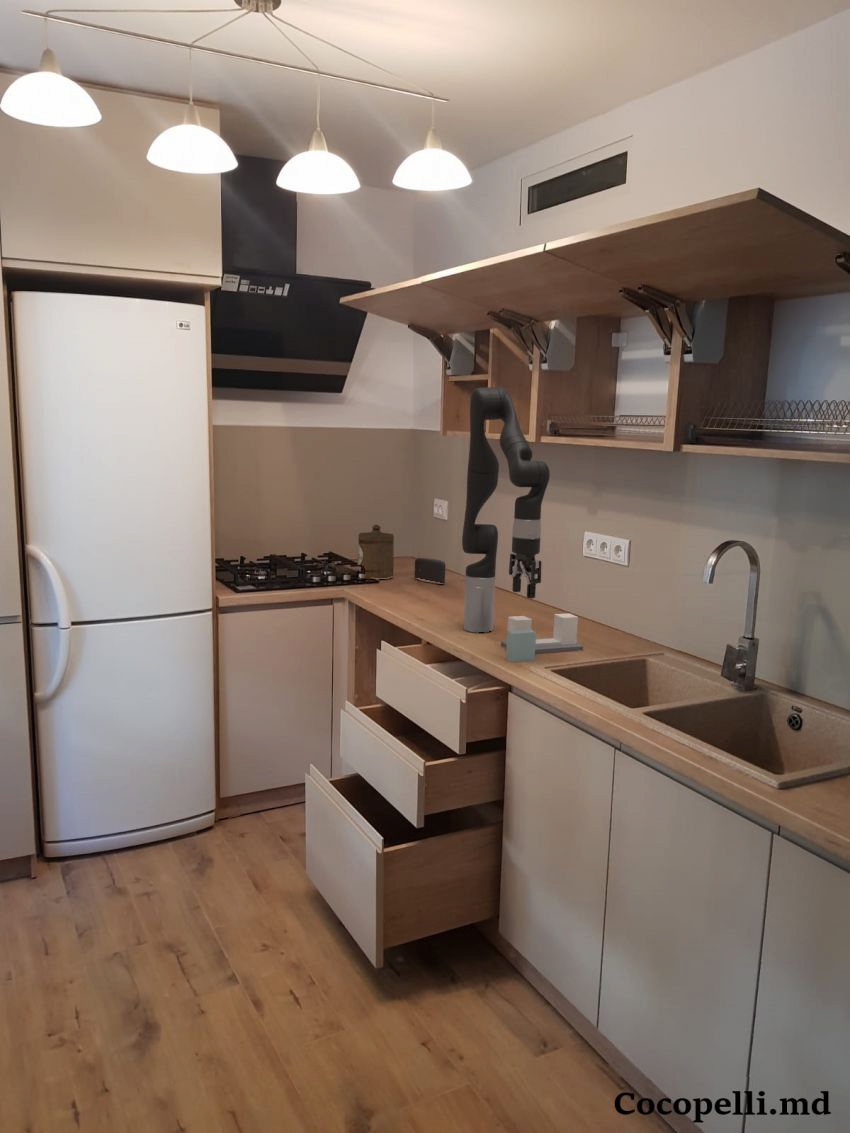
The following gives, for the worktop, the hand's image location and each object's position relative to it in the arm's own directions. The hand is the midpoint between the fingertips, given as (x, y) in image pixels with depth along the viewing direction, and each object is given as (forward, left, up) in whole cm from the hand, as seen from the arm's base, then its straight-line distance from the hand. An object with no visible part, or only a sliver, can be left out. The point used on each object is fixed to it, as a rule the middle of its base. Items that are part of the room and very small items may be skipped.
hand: (523, 594), depth 229 cm
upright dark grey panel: (-115, +17, -18) cm, 118 cm away
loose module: (0, 0, -18) cm, 18 cm away
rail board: (-10, +12, -18) cm, 24 cm away
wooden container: (-131, -1, -18) cm, 132 cm away
